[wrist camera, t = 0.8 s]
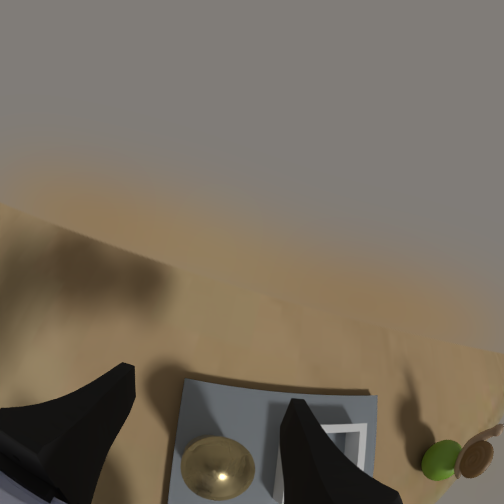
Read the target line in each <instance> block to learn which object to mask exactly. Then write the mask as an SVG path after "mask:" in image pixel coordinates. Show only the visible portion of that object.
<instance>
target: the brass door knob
mask: <svg viewBox="0 0 504 504" xmlns="http://www.w3.org/2000/svg"><path fill="white" fill-rule="evenodd" d="M180 467H181V475H182V478H183V480H184V482H185V484H186V485H187V487H188V488H189V489H190V490H191V491H192V492H194V493H195V494H196V495H198V496H200V497H202V498H205V499H209V500H214V501H223V500H229V499H232V498H235V497H237V496H239V495H241V494H242V493H243V492H245V491H246V490H247V489H248V488H249V486H250V485H251V483H252V481H253V479H254V476H255V463H254V460H253V457H252V455H251V454H250V452H249V451H248V450H247V449H246V448H245V447H244V446H243V445H242V444H240V443H239V442H237V441H235V440H232V439H230V438H227V437H222V436H215V435H201V436H198V437H195V438H194V439H192V440H191V441H190V442H189V443H188V444H187V445H186V447H185V449H184V453H183V456H182V459H181V466H180Z"/></svg>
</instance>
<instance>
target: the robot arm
mask: <svg viewBox="0 0 504 504" xmlns="http://www.w3.org/2000/svg"><path fill="white" fill-rule="evenodd" d="M135 398H136V392H135V366H133V365H130V364H127V363H124V362H122V363H120V364H119V365H117V366H116V367H114V368H113V369H111V370H110V371H108V372H107V373H105V374H104V375H102V376H101V377H99V378H97V379H96V380H94V381H93V382H91V383H89V384H87V385H86V386H84V387H82V388H80V389H78V390H76V391H74V392H72V393H70V394H68V395H65V396H62V397H60V398H57V399H54V400H50V401H47V402H44V403H40V404H35V405H30V406H23V407H11V408H1V409H0V504H91V502H92V498H93V494H94V491H95V488H96V484H97V481H98V478H99V475H100V472H101V469H102V466H103V464H104V461H105V459H106V456H107V454H108V451H109V449H110V447H111V445H112V444H113V442H114V440H115V438H116V436H117V435H118V433H119V431H120V429H121V428H122V426H123V424H124V422H125V420H126V419H127V417H128V415H129V413H130V410H131V408H132V405H133V403H134V400H135ZM279 445H280V455H281V463H282V472H283V481H284V504H403V503H402V500H401V497H400V495H399V493H398V491H396V490H394V489H392V488H390V487H388V486H386V485H384V484H382V483H380V482H379V481H377V480H375V479H374V478H372V477H371V476H369V475H368V474H366V473H365V472H364V471H362V470H361V469H360V468H359V467H357V466H356V465H355V464H354V463H353V462H352V461H350V460H349V459H348V458H347V457H346V456H345V455H344V454H343V453H342V452H341V451H340V450H339V448H338V447H337V446H336V445H335V444H334V442H333V441H332V440H331V439H330V437H329V436H328V435H327V433H326V432H325V431H324V429H323V428H322V426H321V425H320V423H319V422H318V420H317V419H316V417H315V416H314V414H313V413H312V411H311V409H310V408H309V406H308V404H307V403H306V401H305V400H304V399H297V398H291V400H290V403H289V405H288V408H287V410H286V413H285V415H284V418H283V420H282V423H281V425H280V442H279Z"/></svg>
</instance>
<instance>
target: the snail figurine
mask: <svg viewBox="0 0 504 504" xmlns="http://www.w3.org/2000/svg"><path fill="white" fill-rule="evenodd" d="M503 427H504V426H503V424H499V425H496V426H494V427H493V428H491V429H488V430H485V431H483V432H481V433H479V434H477V435H476V436H474V437H472V438H471V439H470V440H469V441H468V442H467V443H466V444H465V445H464V447H463V448H461V446H460V445H459V444H458V443H457V442H455V441H453V440H443V441H439V442H437V443H435V444H434V445H432V446H431V447H430V448H429V449H428V450H427V451H426V453H425V455H424V457H423V459H422V464H421V467H422V471H423V473H424V475H425V476H426V477H427V478H429V479H431V480H434V481H440V480H444V479H447V478H449V477H450V476H452V475H453V474H455V476H456V478H457V479H459V478H460V476H461V474H462V475H463V476H464V477H466V478H474V477H477V476H479V475H481V474H482V473H483V472H484V471H485V470H486V469H487V468H488V467H489V465H490V463H491V461H492V459H493V453H494V451H493V447H492V445H491V444H490V443H489V442H487V441H484V440H486V439H488V438H490V437H492V436H499V435H500V434H501V433H502V432H503Z"/></svg>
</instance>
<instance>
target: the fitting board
mask: <svg viewBox="0 0 504 504" xmlns="http://www.w3.org/2000/svg"><path fill="white" fill-rule="evenodd" d="M291 398H297V399H304V400H305V401H306V403H307V404H308V406H309V408H310V409H311V411H312V413H313V414H314V416H315V417H316V419H317V420H318V422H319V423H320V425H321V426H322V428H323V429H324V431H325V432H326V433H327V435H328V436H329V437H330V439H331V440H332V441H333V442H334V444H335V445H336V446H337V447H338V448H339V450H340V451H341V452H342V453H343V454H344V455H345V456H346V457H347V458H348V459H349V460H350V461H352V462H353V463H354V464H355V465H356V466H357V467H359V468H360V469H361V470H362V471H364V472H365V473H366V474H368V475H369V476H371V477H372V478H373V469H374V458H375V445H376V428H377V395H375V396H338V395H312V394H296V393H284V392H273V391H264V390H255V389H247V388H240V387H233V386H226V385H220V384H214V383H208V382H202V381H197V380H192V379H187V378H185V381H184V387H183V393H182V400H181V406H180V412H179V419H178V426H177V433H176V440H175V447H174V455H173V463H172V471H171V479H170V488H169V497H168V504H284V481H283V472H282V463H281V455H280V445H279V442H280V425H281V423H282V420H283V418H284V415H285V413H286V410H287V408H288V405H289V403H290V400H291ZM201 435H215V436H222V437H227V438H230V439H232V440H235V441H237V442H239V443H240V444H242V445H243V446H244V447H245V448H246V449H247V450H248V451H249V452H250V454H251V455H252V457H253V460H254V463H255V476H254V479H253V481H252V483H251V485H250V486H249V488H248V489H247V490H246V491H245V492H243V493H242V494H241V495H239V496H237V497H235V498H232V499H229V500H223V501H214V500H209V499H205V498H202V497H200V496H198V495H196V494H195V493H194V492H192V491H191V490H190V489H189V488H188V487H187V485H186V484H185V482H184V480H183V478H182V475H181V467H180V466H181V459H182V456H183V453H184V449H185V447H186V445H187V444H188V443H189V442H190V441H191V440H192V439H194V438H195V437H198V436H201Z"/></svg>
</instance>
